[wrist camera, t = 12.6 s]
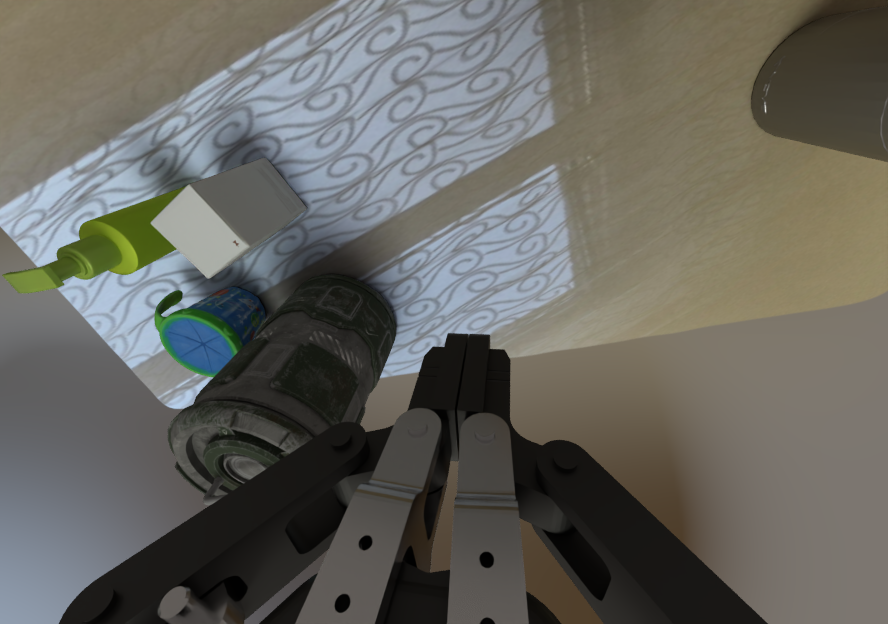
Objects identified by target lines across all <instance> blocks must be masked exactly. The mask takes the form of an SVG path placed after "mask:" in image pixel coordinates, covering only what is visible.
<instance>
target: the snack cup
mask: <svg viewBox="0 0 888 624" xmlns="http://www.w3.org/2000/svg"><path fill="white" fill-rule="evenodd" d="M181 300H182V291H180V290H177V291H174V292H172V293H170V294H169V295H167V296H166V297H165V298H164V299H163V300H162V301H161V302H160V303H159V304H158V306H157V308H156V311H155V326H156V328H157V330H158V331H159V334H160V339H161V342H162V344H163V346H164V347H165V349H166V350H167V352H168V353H169V354H170V355H171V356H172V357H173V358H174V359H175V360H176V361H177V362H178V363H180V364H181V365H183V366H184V367H186V368H187V369H189V370H191V371H193V372H195V373H198V374H201V375H204V376H209V377H215V375H216V374H217V373H218V372H219V371H220V370H221V369H222V368H223V367H224V366H225V365H226V364H227V363H228V362H229V361H230V360H231V359H232V358H233V357H234V356H235V355H236V353H237V352H238V351H239V350H240V349H241V348H242V347H243V346H245V345H246V344H247V343H248V342H250V341H252V340H254V338H255V337H256V335H257V332H258V330H259V329H260V328H261V327H262V325H263V324H264V322H265V319H266V317H265V310H264V307H263V305H262V304H261V302H260V300H259V298H258V297H256V296H254V295H253V294H251V293H250V292H248V291H246V290H243V289H239V288H238V287H230V288H226V289H223V290H221V291H218V292H216V293H214V294H212V295H210V296H209V297H207V298H205V299H203V300H201V301H199V302H198V303H195V304H193V305H192V306H190V307H188V308H186V309H181V310H178V311H175V312H174V313H172V314H170V315H169V316H168V317H162V316H161V314H162V313H163V312H165V311H166V310H167V309H169V308H170V307H171V306H174V305H176V304H177V303H179V302H180V301H181Z"/></svg>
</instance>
